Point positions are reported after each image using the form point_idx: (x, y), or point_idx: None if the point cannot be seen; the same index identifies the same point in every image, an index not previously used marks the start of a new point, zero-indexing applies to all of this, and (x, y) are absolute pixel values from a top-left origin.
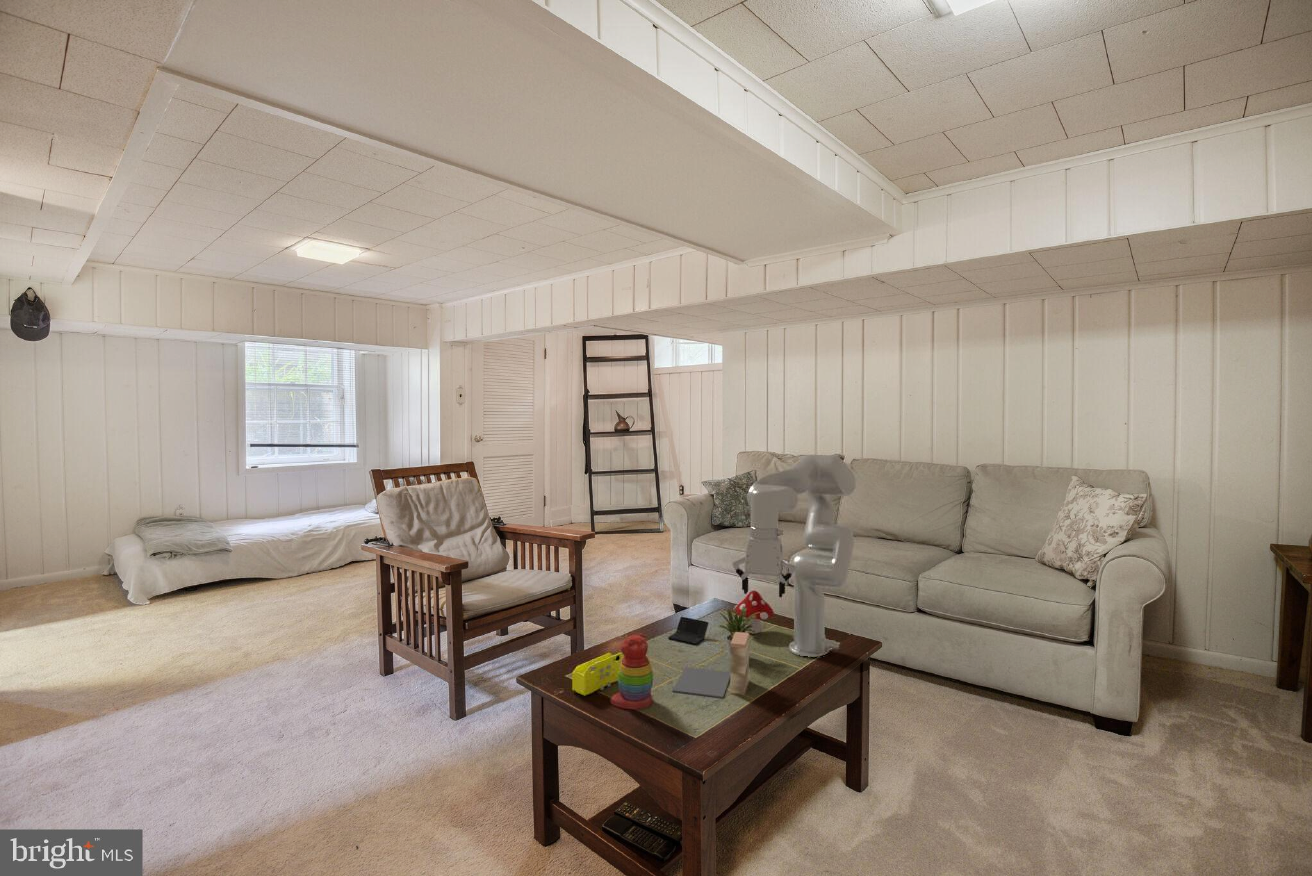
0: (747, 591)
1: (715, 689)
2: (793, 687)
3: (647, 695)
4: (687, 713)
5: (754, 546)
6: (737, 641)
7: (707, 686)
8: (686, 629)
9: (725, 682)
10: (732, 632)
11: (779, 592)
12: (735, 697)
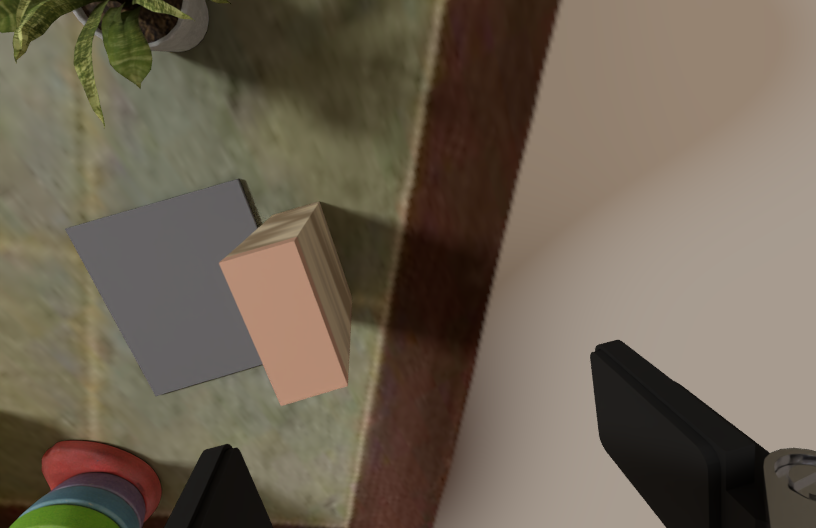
0: (253, 495)
1: None
2: (466, 167)
3: (144, 513)
4: (270, 462)
5: None
6: (298, 372)
7: (229, 320)
8: None
9: None
10: (120, 69)
11: (634, 478)
12: None
